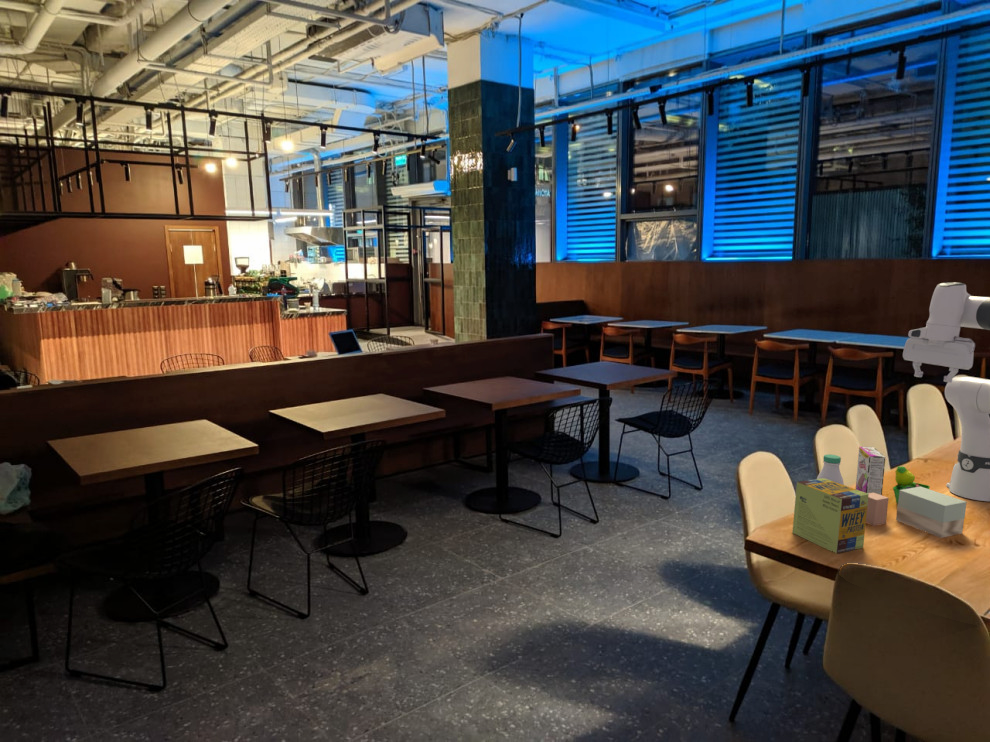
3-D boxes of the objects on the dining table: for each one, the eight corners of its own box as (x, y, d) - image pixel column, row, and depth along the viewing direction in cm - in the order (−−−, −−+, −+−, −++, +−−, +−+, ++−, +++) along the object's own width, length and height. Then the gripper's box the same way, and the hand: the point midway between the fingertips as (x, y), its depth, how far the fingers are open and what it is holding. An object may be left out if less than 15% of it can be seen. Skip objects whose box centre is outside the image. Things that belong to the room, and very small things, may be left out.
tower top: (918, 502, 210) (920, 486, 209) (964, 518, 197) (966, 501, 197) (897, 505, 207) (899, 490, 206) (942, 522, 194) (945, 505, 193)
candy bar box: (853, 493, 231) (858, 446, 228) (870, 494, 230) (874, 447, 227) (864, 505, 220) (869, 455, 217) (881, 506, 219) (886, 456, 216)
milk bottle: (807, 515, 211) (812, 452, 208) (831, 515, 212) (837, 452, 208) (821, 525, 203) (827, 460, 200) (846, 524, 204) (852, 459, 201)
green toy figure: (916, 509, 217) (920, 474, 215) (886, 501, 223) (889, 468, 222) (929, 501, 224) (932, 467, 222) (899, 493, 231) (902, 461, 229)
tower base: (916, 517, 211) (918, 501, 210) (962, 534, 198) (964, 518, 198) (895, 521, 208) (897, 505, 207) (940, 539, 195) (942, 522, 194)
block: (871, 517, 210) (873, 492, 209) (885, 523, 205) (888, 497, 204) (859, 519, 208) (861, 494, 207) (873, 525, 203) (876, 500, 202)
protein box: (836, 554, 184) (842, 499, 181) (791, 533, 198) (795, 481, 195) (864, 548, 188) (870, 493, 185) (818, 527, 202) (822, 476, 199)
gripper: (982, 339, 203) (973, 386, 204) (917, 332, 221) (909, 374, 223) (968, 338, 200) (959, 385, 202) (904, 330, 219) (895, 373, 221)
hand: (932, 379), depth 213 cm, fingers open, 8 cm apart
